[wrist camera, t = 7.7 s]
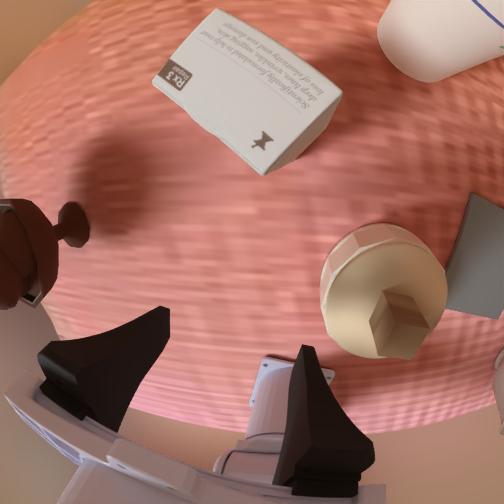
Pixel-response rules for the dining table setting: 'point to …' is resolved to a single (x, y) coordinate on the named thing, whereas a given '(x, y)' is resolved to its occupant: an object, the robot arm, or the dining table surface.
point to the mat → (478, 261)
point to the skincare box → (249, 91)
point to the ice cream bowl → (34, 248)
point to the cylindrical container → (441, 36)
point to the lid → (386, 301)
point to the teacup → (499, 387)
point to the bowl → (355, 245)
